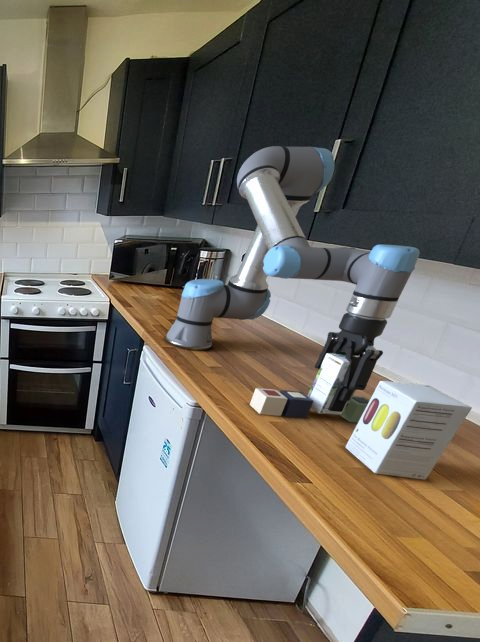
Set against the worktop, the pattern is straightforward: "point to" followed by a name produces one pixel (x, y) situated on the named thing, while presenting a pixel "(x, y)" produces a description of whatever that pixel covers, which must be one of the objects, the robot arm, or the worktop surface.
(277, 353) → the worktop surface
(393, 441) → the supplement box
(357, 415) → the block
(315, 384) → the syrup box
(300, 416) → the block
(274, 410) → the block
